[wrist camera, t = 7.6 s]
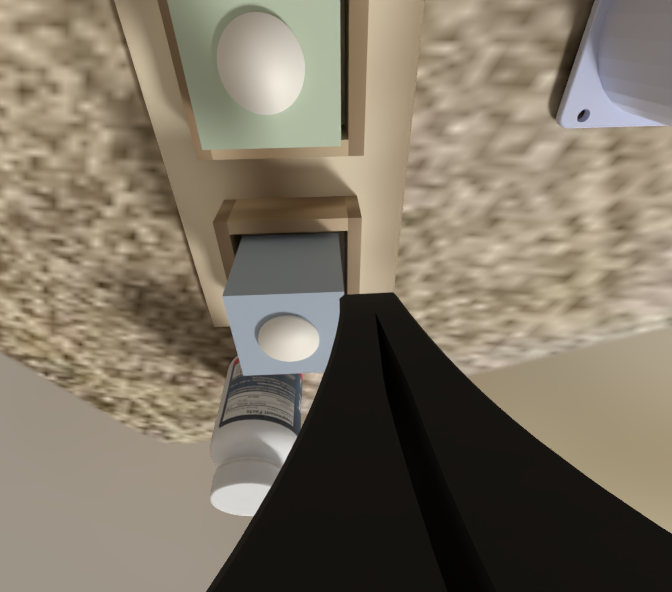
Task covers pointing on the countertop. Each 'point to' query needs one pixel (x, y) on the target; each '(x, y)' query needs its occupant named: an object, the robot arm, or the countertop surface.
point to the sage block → (261, 71)
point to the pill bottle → (252, 436)
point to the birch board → (292, 151)
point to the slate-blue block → (284, 302)
